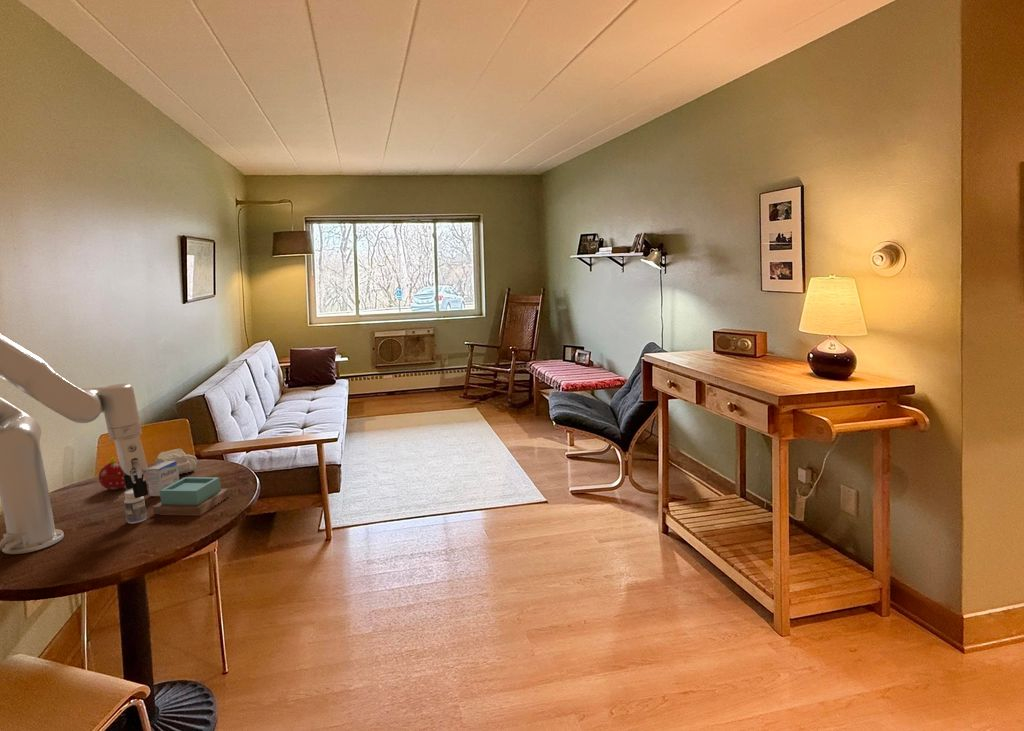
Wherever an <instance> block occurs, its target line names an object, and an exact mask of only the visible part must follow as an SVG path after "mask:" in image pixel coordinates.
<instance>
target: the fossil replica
mask: <svg viewBox="0 0 1024 731" xmlns="http://www.w3.org/2000/svg"><path fill="white" fill-rule="evenodd" d="M164 461H177V467H178V474H179V476H180V474H181V475H184V474H183V473H187V474H189V473H188V472H190V473H191V472H193V471H194V470H195V469H196V467H197V463H198V459H197V457H196V456H195V455H191V454H186V452H184V450H183V449H182V448H175V449H170V450H166V451H161V452H160V453H159V454H158V455H157V456H156V457H155V460H154V464H155V465H157V464H160V463H162V462H164ZM155 465H154V466H155Z"/></svg>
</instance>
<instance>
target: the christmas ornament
mask: <svg viewBox="0 0 1024 731" xmlns="http://www.w3.org/2000/svg"><path fill="white" fill-rule="evenodd" d="M98 480H99V481H98V482H99V483H100V485H101V486H102V487H103V488H105V489H106V490H110V491H117V490H121V489H123V488H124V487H126V485H125V480H124V473H123V470H122V469H121V467H120V463H119V461H117V460H116V459H115V457H111V458H110V462H109V463H106V464H105V465H104V466H102V467H101V469H100V470H99V473H98Z"/></svg>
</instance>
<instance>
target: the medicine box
mask: <svg viewBox="0 0 1024 731" xmlns="http://www.w3.org/2000/svg"><path fill="white" fill-rule="evenodd" d="M145 472H146V477H147V485H148V493H149V496H150V497H160V490H162V489H164V488H165V487H167V486H169V485H171V484H173V483H175V482H177V481H178V480H180V475H179V474H178V467H177V461H164V462H162V463H160V464H157V465H153V466H151V467H148V470H147V471H145Z"/></svg>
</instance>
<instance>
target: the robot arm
mask: <svg viewBox="0 0 1024 731" xmlns="http://www.w3.org/2000/svg"><path fill="white" fill-rule="evenodd" d="M0 379H2V380H4V381H6V382H7V383H10V384H11V385H13V386H14V387H16V388H18V390H20V391H21V392H22V393H24V394H26V395H28V396H29V397H31V398H32V399H34V400H36V401H37V402H39V403H40V404H42V405H44V406H45V407H47V408H48V409H50V410H52V412H55V413H56V414H59V415H60V416H62V417H64V418H66V419H67V420H70V421H71V422H74V423H77V424H89V423H91V422H94V421H95V420H96V419H98V418H99V417H100V415H101V414H102V413H103V414H104V418H105V424H106V428H107V434H108V437H109V438H108V439H109V440H110V441H114V444H115V449H116V455H117V459H118V462H119V463H120V467H121V469H122V470H123V473H124V480H125V485H126V486H125V489H126V490H130V489H133V493H134V497H135V498H139V497H142V496H143V497H145V496H148V495H149V488H148V486H147V485H148V483H147V481H146V478H145V475H144V472H146V471H147V470H148V468H149V467H148V464H147V459H146V455H145V451H144V448H143V444H142V441H141V438H140V436H141V435H142V434H143V429H142V426H141V421H140V416H139V412H138V411H139V410H138V406H137V401H136V395H135V391H134V388H133V386H132V385H131V384H129V383H118V384H116V383H115V384H112V385H108V386H103V387H101V386H100V387H85V388H84V387H83V388H80V387H78V386H77V385H74V384H73V383H71V382H70V381H68V380H67V379H65V378H64V377H63V376H61V375H60V374H59V373H57V372H56V371H55V370H54V369H53V368H52V367H51V366H50V364H48V362H46V361H45V360H44V359H43V358H41V357H40V356H38V355H37V354H36V353H33V352H32V351H30V350H28V349H26V348H25V347H24V346H22V345H20V344H18V343H16V342H15V341H13V340H11V339H10V338H9V337H7V336H5V335H3V333H2V331H1V330H0ZM41 435H42V429H41V426H40V424H39V422H38V421H37V420H36V419H35V418H33V416H30V415H29V414H28V413H26V412H25V411H23V410H22V409H20V408H19V407H17V406H16V405H15V404H14V405H13V404H12V403H10V402H9V401H7V400H6V399H5V398H3V397H1V396H0V501H1V502H0V503H1V508H2V512H3V518H4V524H5V529H6V533H3V534H2V535H3V538H2V539H1V541H0V551H2V552H3V553H4V554H7V555H21V554H28V553H32V552H36V551H39V550H42V549H45V548H49V547H51V546H53V545H55V544H57V543H58V542H59V543H60V541H61V540H63V538H64V537H65V534H64V531H63V530H62V529H59V528H56V527H55V526H56V525H55V522H54V514H53V508H52V504H51V499H50V493H49V487H48V482H47V481H48V479H47V475H46V470H45V465H44V460H43V456H42V450H41V449H42V448H41V442H40V441H41Z"/></svg>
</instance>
